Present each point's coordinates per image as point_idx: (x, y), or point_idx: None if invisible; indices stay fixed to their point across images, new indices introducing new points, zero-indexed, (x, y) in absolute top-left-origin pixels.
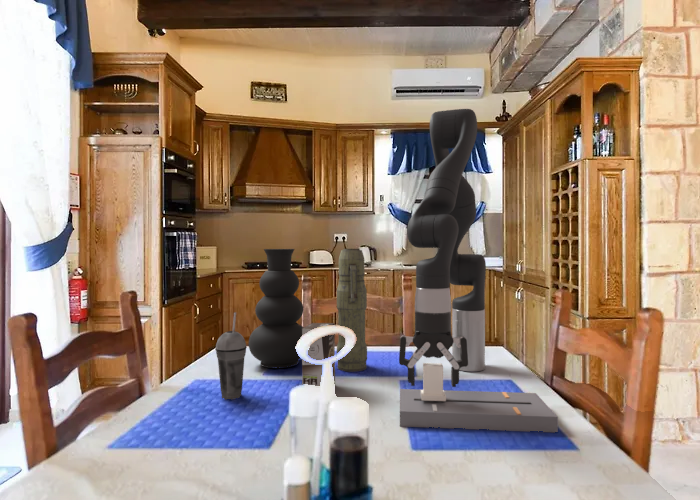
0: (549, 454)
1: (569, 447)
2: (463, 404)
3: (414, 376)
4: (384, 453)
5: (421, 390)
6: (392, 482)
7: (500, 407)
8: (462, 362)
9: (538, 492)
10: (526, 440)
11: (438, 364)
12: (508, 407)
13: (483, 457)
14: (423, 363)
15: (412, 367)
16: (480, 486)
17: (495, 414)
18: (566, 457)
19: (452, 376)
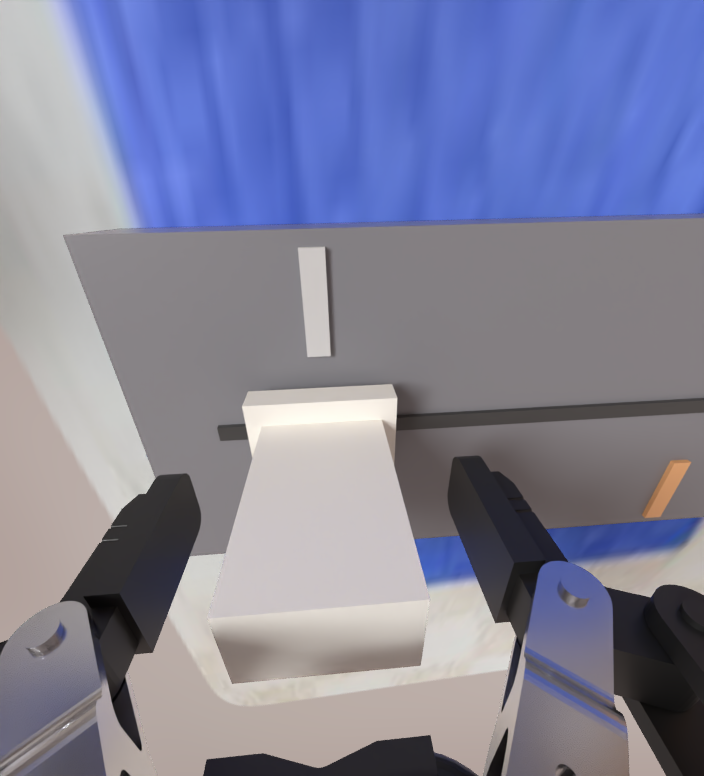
0: (593, 575)
1: (669, 542)
2: (469, 452)
3: (178, 584)
4: (204, 629)
5: (250, 422)
6: (247, 689)
7: (622, 463)
8: (628, 703)
9: (490, 669)
10: (584, 527)
11: (384, 633)
12: (657, 457)
13: (435, 607)
14: (216, 631)
15: (127, 672)
16: (400, 673)
17: (560, 526)
18: (622, 580)
19: (472, 566)
